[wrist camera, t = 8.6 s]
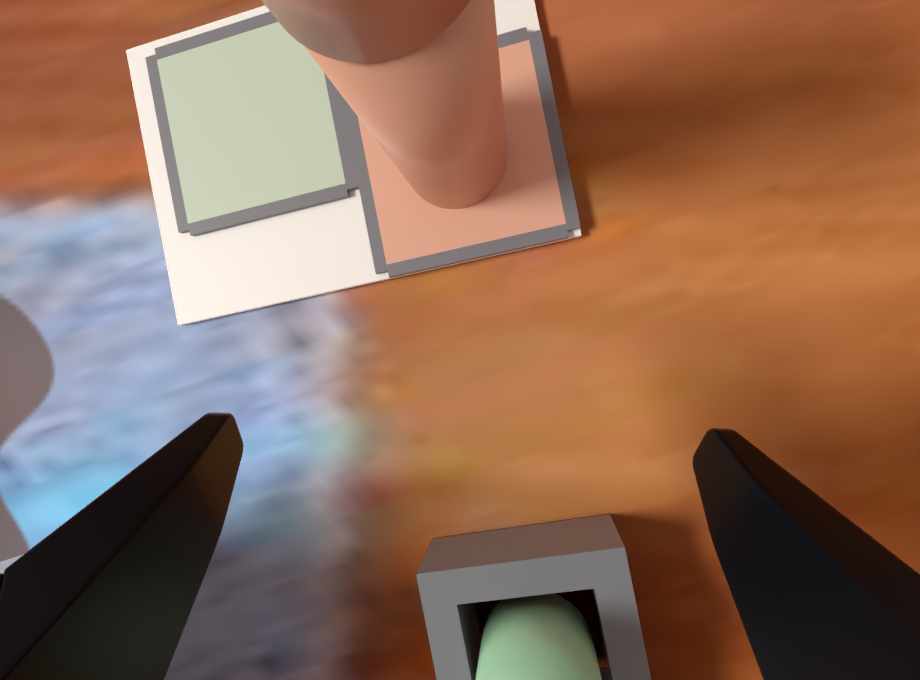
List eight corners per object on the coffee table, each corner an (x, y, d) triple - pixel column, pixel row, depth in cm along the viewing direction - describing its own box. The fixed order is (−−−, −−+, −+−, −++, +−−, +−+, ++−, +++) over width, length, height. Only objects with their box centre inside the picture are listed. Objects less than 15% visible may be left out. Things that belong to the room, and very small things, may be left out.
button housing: (646, 696, 18) (668, 763, 15) (466, 712, 19) (455, 777, 16) (609, 513, 18) (624, 546, 15) (432, 538, 19) (415, 573, 16)
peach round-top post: (528, 123, 18) (541, -453, 5) (482, 228, 18) (378, -44, 5) (427, 85, 18) (186, -531, 5) (384, 187, 18) (57, -155, 5)
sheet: (580, 237, 18) (582, 233, 17) (182, 325, 20) (173, 324, 20) (518, -70, 18) (518, -82, 18) (131, 54, 20) (121, 46, 20)
